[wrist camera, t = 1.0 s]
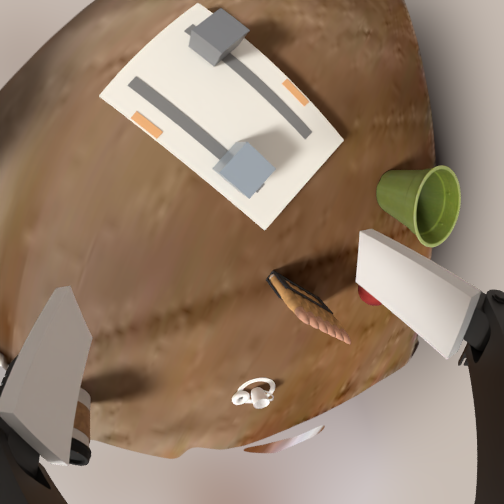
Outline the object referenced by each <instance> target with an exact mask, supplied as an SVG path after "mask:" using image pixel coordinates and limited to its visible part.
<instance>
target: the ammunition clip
mask: <svg viewBox="0 0 504 504" xmlns="http://www.w3.org/2000/svg"><path fill="white" fill-rule="evenodd" d="M266 281H267V282H268V283H269V285H270V286H271V288H272V289H273V290H274V292H275V293H276V294H277V296H278V297H279V298H280V299H282V300H284V302H285V303H286V305H287V306H288V307H289V309H291V310H292V311H293V312H294V313H295V314H296V315H297V317H298V318H299V319H300V320H301V321H303V322H304V323H306V324H310V325H311V326H313V327H314V328H316V329H320V330H321V331H323V332H325V333H328V334H329V335H331V336H333V337H336V338H338V339H339V340H342V341H344V342H346V343H348V344H351V340H350V338H349V336H348V334H347V333H346V331H345V330H344V329H343V328H342V326H341V325H340V323H339V321H338V320H337V319H336V318H335V317H334V316H333V313H332V311H331V310H330V309H329V308H328V307H327V306H326V305H325V304H324V303H323V302H322V300H321V299H320V298H319V297H317V296H315V295H314V294H312V293H310V292H309V291H307V290H305V289H304V288H302V287H300V286H299V285H297V284H295V283H294V282H292V281H290V280H289V279H287V278H286V277H284V276H282V275H281V274H279V273H277V272H276V271H272V272H271V274H270V275H269V276H268V278H267V279H266Z"/></svg>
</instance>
